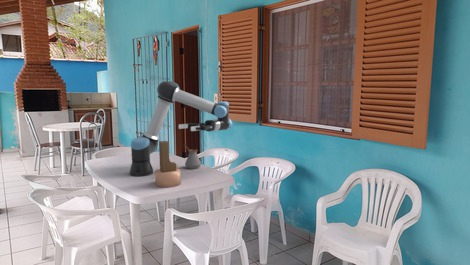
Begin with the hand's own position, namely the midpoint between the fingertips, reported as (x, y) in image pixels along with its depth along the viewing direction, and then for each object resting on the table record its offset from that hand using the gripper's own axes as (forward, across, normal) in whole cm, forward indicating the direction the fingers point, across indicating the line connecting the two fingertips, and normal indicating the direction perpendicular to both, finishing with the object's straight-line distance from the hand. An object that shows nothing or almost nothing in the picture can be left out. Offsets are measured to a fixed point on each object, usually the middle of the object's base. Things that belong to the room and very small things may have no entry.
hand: (184, 127), depth 212 cm
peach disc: (+15, -4, -32) cm, 36 cm away
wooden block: (+15, -4, -25) cm, 29 cm away
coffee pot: (-21, +24, -33) cm, 45 cm away
